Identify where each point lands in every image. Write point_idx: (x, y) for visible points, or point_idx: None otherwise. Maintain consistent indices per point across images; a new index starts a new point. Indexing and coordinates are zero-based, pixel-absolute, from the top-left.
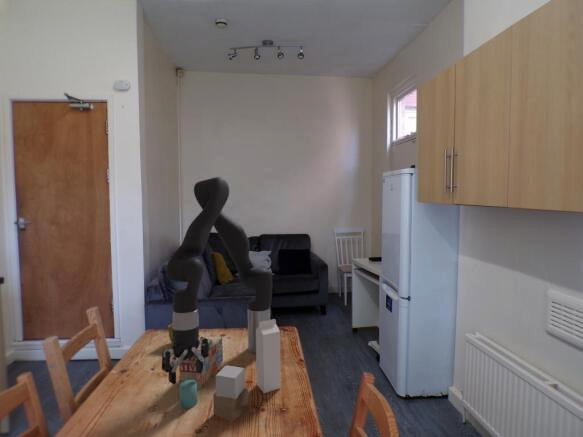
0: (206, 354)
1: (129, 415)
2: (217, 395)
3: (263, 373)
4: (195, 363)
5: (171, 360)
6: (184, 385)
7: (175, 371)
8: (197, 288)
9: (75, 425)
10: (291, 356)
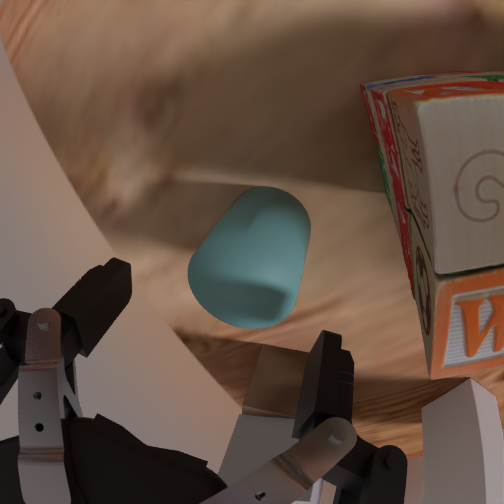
0: (346, 492)
1: (84, 69)
2: (239, 418)
3: (425, 464)
4: (416, 290)
5: (24, 371)
6: (218, 276)
7: (84, 352)
8: None
9: (8, 5)
10: None
